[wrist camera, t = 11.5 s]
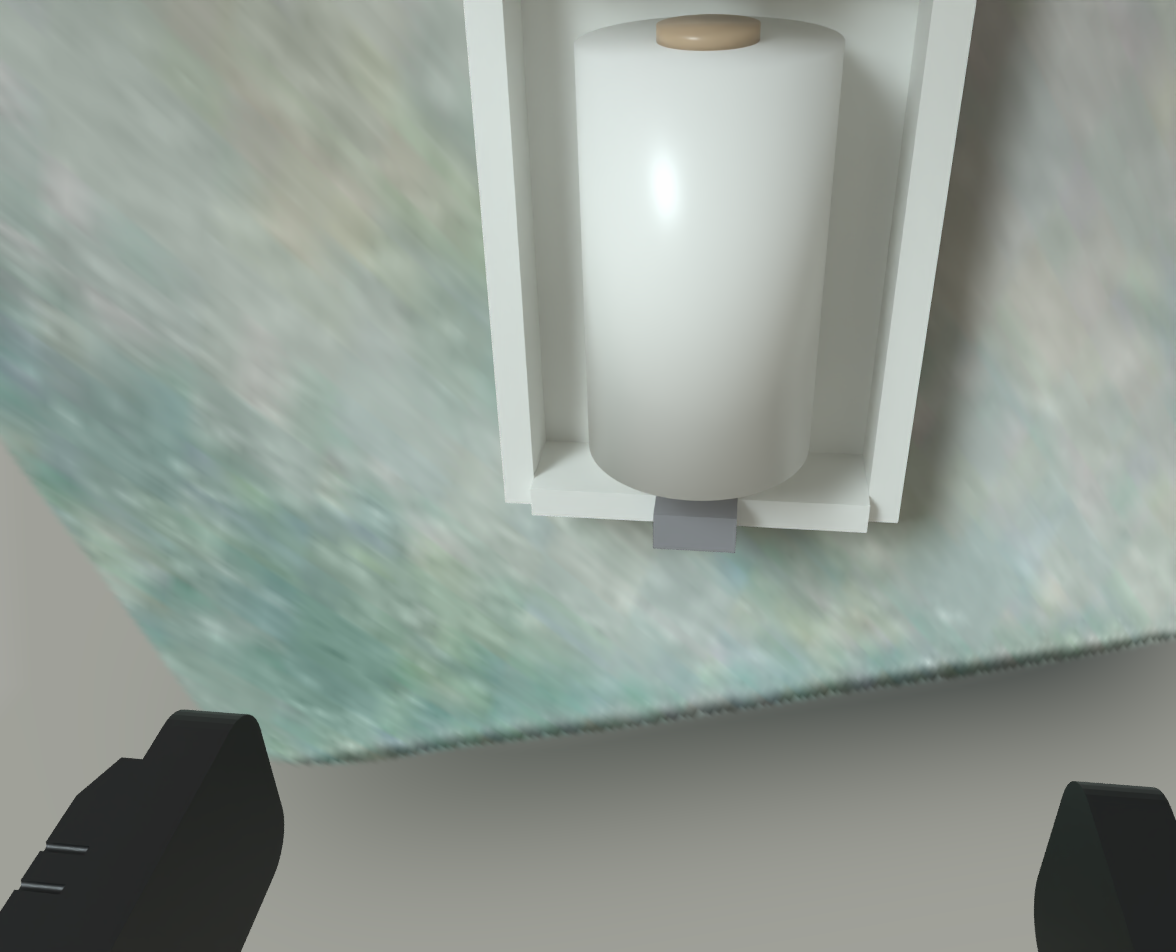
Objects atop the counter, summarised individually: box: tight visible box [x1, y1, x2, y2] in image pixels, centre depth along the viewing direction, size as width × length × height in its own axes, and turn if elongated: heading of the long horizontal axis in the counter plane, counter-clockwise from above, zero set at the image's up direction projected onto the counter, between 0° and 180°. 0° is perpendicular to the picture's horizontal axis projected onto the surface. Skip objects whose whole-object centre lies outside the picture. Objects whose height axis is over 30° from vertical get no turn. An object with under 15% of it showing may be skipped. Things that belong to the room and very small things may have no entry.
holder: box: [463, 0, 977, 553], centre depth 25 cm, size 14×10×4 cm
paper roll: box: [574, 14, 845, 501], centre depth 24 cm, size 10×5×5 cm, turn 2°
